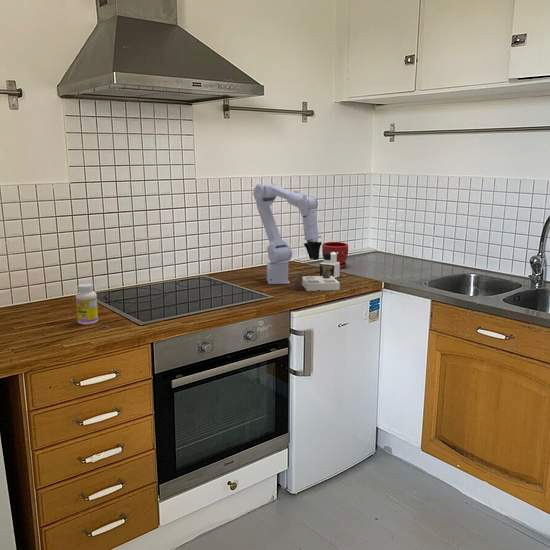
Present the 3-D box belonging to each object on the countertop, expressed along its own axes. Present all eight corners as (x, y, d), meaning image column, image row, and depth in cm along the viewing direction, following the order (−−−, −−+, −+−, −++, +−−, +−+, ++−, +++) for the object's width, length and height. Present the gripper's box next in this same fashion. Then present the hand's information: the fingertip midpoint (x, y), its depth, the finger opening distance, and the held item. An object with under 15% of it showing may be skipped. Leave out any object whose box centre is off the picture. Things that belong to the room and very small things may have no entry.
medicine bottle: (319, 278, 255) (319, 252, 253) (325, 275, 261) (326, 250, 259) (333, 280, 252) (334, 253, 249) (339, 277, 258) (340, 251, 256)
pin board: (306, 290, 232) (307, 272, 230) (301, 283, 245) (301, 265, 243) (339, 290, 233) (340, 271, 232) (332, 282, 247) (332, 264, 245)
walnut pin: (295, 290, 232) (296, 274, 230) (294, 289, 234) (294, 272, 233) (302, 290, 232) (303, 274, 230) (301, 288, 235) (302, 272, 233)
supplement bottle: (73, 322, 186) (70, 285, 183) (89, 318, 191) (87, 281, 189) (86, 326, 182) (83, 288, 180) (102, 321, 188) (100, 284, 185)
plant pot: (316, 265, 284) (317, 242, 281) (339, 263, 289) (339, 241, 287) (330, 270, 272) (330, 246, 270) (352, 268, 278) (353, 244, 275)
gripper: (323, 224, 222) (327, 258, 223) (316, 225, 237) (320, 257, 238) (306, 226, 222) (310, 260, 223) (300, 227, 236) (303, 259, 237)
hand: (314, 259), depth 230 cm, fingers open, 7 cm apart
